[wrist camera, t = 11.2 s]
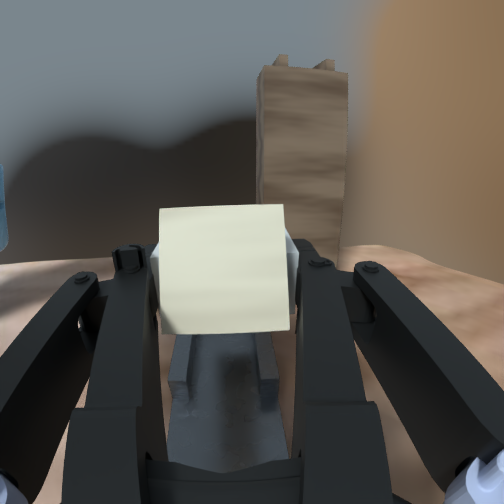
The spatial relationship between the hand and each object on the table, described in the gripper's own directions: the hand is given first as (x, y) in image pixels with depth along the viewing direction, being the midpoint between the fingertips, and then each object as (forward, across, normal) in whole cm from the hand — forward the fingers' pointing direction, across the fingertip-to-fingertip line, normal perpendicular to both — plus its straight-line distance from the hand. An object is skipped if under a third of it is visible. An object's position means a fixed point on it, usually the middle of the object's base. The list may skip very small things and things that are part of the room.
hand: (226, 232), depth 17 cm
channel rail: (+3, -1, -16) cm, 17 cm away
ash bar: (+1, 0, -6) cm, 6 cm away
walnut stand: (+23, +9, -16) cm, 30 cm away
